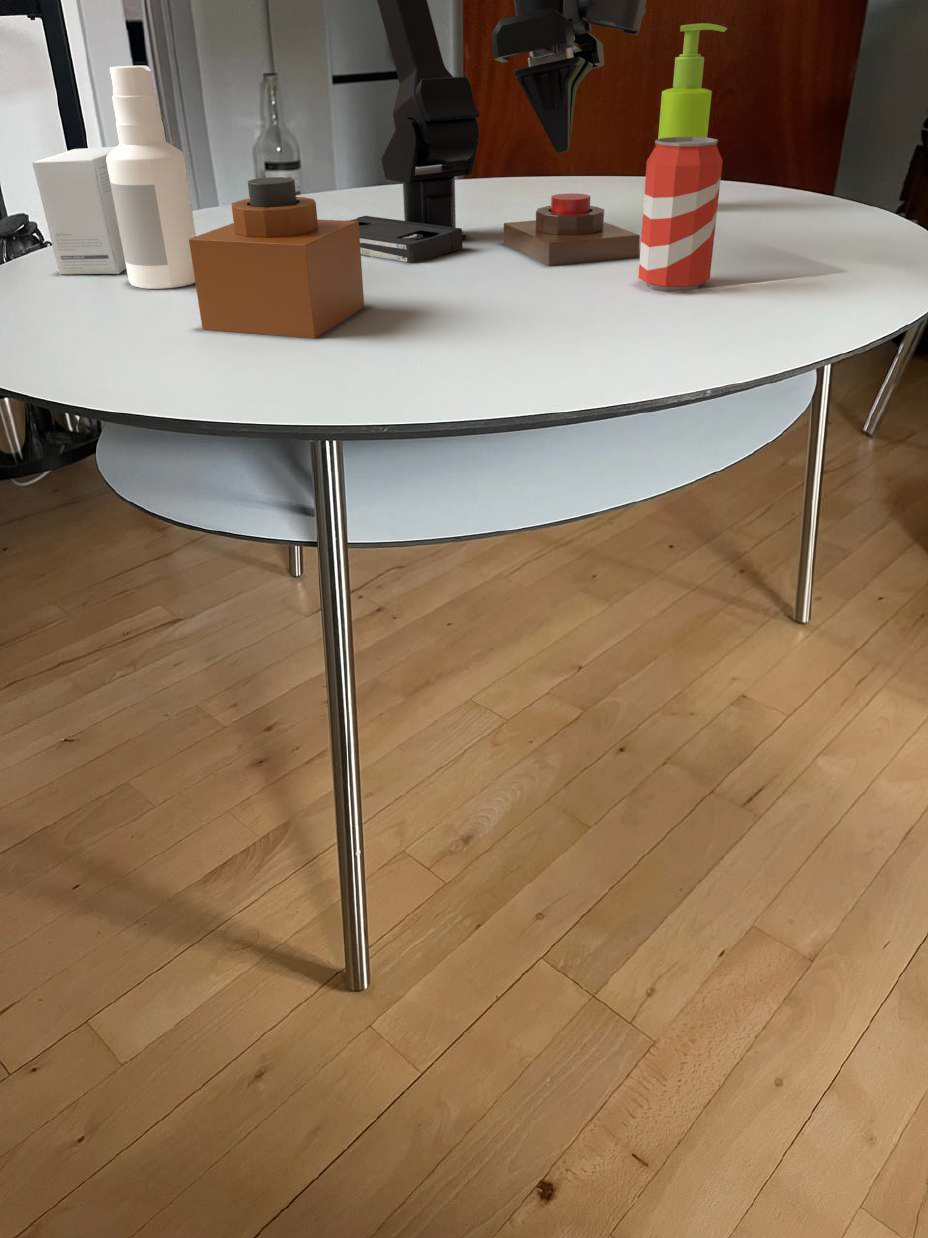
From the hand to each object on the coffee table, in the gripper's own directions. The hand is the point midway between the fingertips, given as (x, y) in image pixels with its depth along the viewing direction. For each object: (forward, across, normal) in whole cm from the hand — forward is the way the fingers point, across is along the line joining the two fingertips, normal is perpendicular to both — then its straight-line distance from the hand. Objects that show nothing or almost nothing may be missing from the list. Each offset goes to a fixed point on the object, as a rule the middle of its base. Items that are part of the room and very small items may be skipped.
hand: (562, 151), depth 91 cm
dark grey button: (+2, -23, +19) cm, 29 cm away
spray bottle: (+6, -12, +37) cm, 39 cm away
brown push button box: (+10, -22, +20) cm, 31 cm away
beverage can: (+13, -3, -9) cm, 16 cm away
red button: (+5, +10, +2) cm, 11 cm away
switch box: (+9, +10, +3) cm, 14 cm away
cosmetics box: (+3, -6, +47) cm, 48 cm away
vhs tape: (+6, +7, +21) cm, 23 cm away
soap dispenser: (+7, +39, -6) cm, 40 cm away
